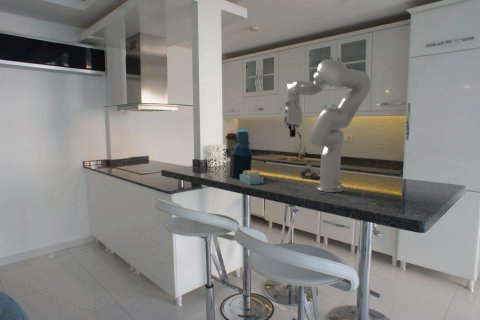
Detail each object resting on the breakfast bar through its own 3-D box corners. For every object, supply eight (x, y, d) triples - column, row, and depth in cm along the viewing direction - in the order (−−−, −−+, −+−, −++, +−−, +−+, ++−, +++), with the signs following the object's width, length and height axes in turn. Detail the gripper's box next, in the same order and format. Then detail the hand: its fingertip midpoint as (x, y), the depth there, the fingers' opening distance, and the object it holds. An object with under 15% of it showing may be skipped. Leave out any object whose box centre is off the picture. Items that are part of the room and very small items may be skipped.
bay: (263, 183, 171) (263, 176, 171) (249, 184, 167) (249, 177, 167) (253, 180, 182) (253, 173, 182) (239, 181, 178) (239, 174, 178)
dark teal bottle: (251, 179, 184) (252, 129, 181) (228, 179, 185) (228, 129, 182) (250, 174, 205) (251, 129, 202) (230, 173, 206) (230, 129, 202)
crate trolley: (259, 182, 173) (259, 171, 173) (248, 183, 170) (249, 172, 169) (253, 180, 180) (253, 170, 179) (242, 181, 177) (242, 170, 176)
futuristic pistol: (317, 188, 184) (325, 174, 180) (298, 175, 191) (305, 161, 188) (319, 187, 186) (326, 174, 182) (299, 175, 193) (306, 161, 190)
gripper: (286, 104, 169) (286, 136, 171) (307, 105, 177) (306, 136, 178) (278, 105, 176) (278, 136, 178) (298, 106, 183) (298, 136, 185)
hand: (292, 136), depth 178 cm, fingers closed
